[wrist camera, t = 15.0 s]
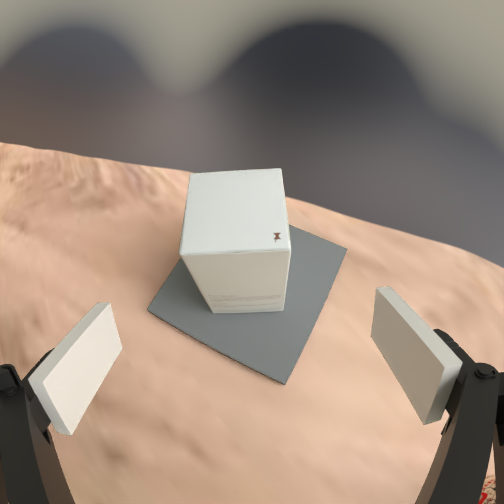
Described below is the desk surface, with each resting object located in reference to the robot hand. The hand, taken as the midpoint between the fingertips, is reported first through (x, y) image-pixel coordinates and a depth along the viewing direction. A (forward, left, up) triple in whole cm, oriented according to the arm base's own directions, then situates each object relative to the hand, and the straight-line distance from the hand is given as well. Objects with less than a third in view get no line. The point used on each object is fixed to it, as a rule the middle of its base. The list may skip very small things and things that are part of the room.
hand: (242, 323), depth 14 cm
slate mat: (-5, +8, -17) cm, 19 cm away
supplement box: (-5, +8, -16) cm, 18 cm away
